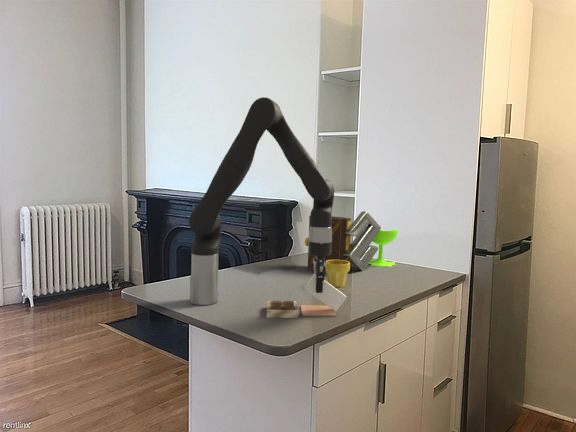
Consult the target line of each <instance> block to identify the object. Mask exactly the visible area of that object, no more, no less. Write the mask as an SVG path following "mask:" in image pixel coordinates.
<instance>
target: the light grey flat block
mask: <svg viewBox="0 0 576 432" xmlns="http://www.w3.org/2000/svg"><path fill="white" fill-rule="evenodd" d="M318 277H320V276H318ZM315 279H316V274H315V273H314V272H313V275H312V276H311V278H310V279H308V281H307V283H306V284H305V285H304V286H303V288H304V290H305V291H307V292H308V293H310V294H311V295H312V296H313V297H315V298H317V299H318V300H319V301H321V302H322V303H323V304H324V305H327V306H329V307H330V308H332V309H333V310H334V311H335V312H337V310H339V308H340V307H341V305H343V303H344V302H345V300H346V299H347V298H348V297H347V295H346V294H344V293H343V292H342V291H340V290H339V289H337V287H333V286H332V285H331V284H329V283H328V280H325V279H324V281H323V292H322V293H316V280H315Z"/></svg>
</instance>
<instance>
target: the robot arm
mask: <svg viewBox="0 0 576 432" xmlns="http://www.w3.org/2000/svg"><path fill="white" fill-rule="evenodd" d="M266 131H267V132H268V133H269V134H270V135H271V136H272V137H273V138H274V140H275V141H276V143H277V144H278V146H279V148H280V149H281V151H282V153H283V155H284V157H285V159H286V160H287V162H288V163H289V165H290V167H291V168H292V169H293V171H294V172H295V173H296V175H297V176H298V177H299V178H300V180H301V182H302V184H303V187H304V188H305V190H306V192H307V194H309V197H311V198H312V199H313V203H312V204H313V205H312V206H313V207H312V209H311V211H310V215H309V216H310V230H309V229H308V238H309V254H311V255H316V256H315V259H313V264H314V269H313V274H314V273H315V274H316V279H315V280H316V293H322V292H323V281H324V280H325V275H326V271H325V269H326V267H325V266H326V261H325V259H324V256H328V255H330V254H331V247H332V229H331V225H332V213H333V207H334V201H335V200H334V198H335V187H334V184H333V183H332V182H331V181H330V180H328V179H326V178H324V177H323V175H322V174H321V172H320V171H319V169H318V165H317V163H316V162H315V161H314V159H313V157H312V156H311V155H310V153H309V152H308V151H307V149H306V148H305V147H304V145H303V143H301V142H300V140H299V139H298V138H297V136H296V135H295V133H294V132H293V131H292V129H291V127H290V125H289V124H288V122H287V121H286V118H285V116H284V114H283V112H282V109H281V107H280V106H279V104H278V103H276V102H275V101H274V100H272V99H271V98H269V97H259V98H257V99H256V100H254V101H253V102H252V104H251V105H250V107H249V109H248V111H247V113H246V116H245V119H244V121H243V124H242V125H241V128H240V130H239V131H238V134H237V135H236V137H235V138H234V140H233V142H232V143H231V145H230V147H229V149H228V151H227V152H226V154H225V155H224V157H223V159H222V161H220V162H221V163H220V164H219V166H218V168H217V170H216V172H215V174H214V175H213V177H212V180H211V182H210V183H209V186H208V188H207V189H206V192H205V193H204V195H203V196H202V197H201V200H200V201H199V202H198V204H197V205H196V206H195V207H194V209H193V211H192V212H191V214H190V215H189V219H188V226H189V229H190V230H191V232H192V233H193V234H194V241H193V243H192V245H191V265H190V268H191V271H190V273H191V274H190V276H189V304H193V305H198V306H199V305H200V306H202V305H203V306H206V305H207V306H208V305H214V304H216V303H218V301H219V300H218V299H219V294H218V293H219V250H220V249H219V248H220V245H221V232H222V231H221V230H222V219H221V216H220V212H221V211H222V208H223V206H225V203H226V202H227V201H228V200H229V199H230V197H231V196H232V195H233V194H234V193H235V191H236V190H237V189H238V188H239V187H240V185H241V184H242V183H243V182H244V179H245V178H246V176H247V174H248V172H249V171H250V168H251V166H252V164H253V161H254V157H255V153H256V151H257V150H256V149H257V146H258V144H259V142H260V140H261V138H262V137H263V136H264V134H265V132H266ZM318 276H320V277H318Z"/></svg>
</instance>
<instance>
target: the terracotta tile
mask: <svg viewBox="0 0 576 432" xmlns="http://www.w3.org/2000/svg"><path fill="white" fill-rule="evenodd" d="M300 310H301V311H300V312H301V316H303V317H305V316H306V317H307V316H308V317H336V316H337V313H336V311H334V310H333V309H332V308H330V307H329V306H327V305H326V304H324V305H319V304H318V305H316V304H314V305H313V304H300Z"/></svg>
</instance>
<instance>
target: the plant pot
mask: <svg viewBox="0 0 576 432" xmlns="http://www.w3.org/2000/svg"><path fill="white" fill-rule="evenodd" d="M325 267H326V269H325V270H326V271H325V274H326V277H327V282H328V283H329V284H331V285H332V286H333V287H335V288H343V286H344V287H345V286H346V284H347V283H346V282H347V278H348V271H349V272H350V270H351V263H350V262H348V261H345V260H327V261H326V266H325Z"/></svg>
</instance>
